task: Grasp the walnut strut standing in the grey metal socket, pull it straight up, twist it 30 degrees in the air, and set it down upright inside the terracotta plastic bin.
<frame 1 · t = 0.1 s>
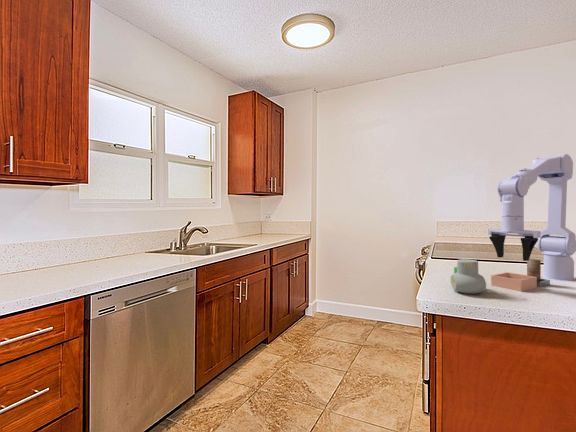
hand: (512, 258, 103), 10 cm above the worktop, tool pointing down, fingers open, 7 cm apart
terracotta bin: (513, 288, 105), on the worktop
metal socket: (533, 285, 108), on the worktop
walnut strut: (533, 283, 108), point 1 cm above the worktop, touching metal socket
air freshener: (467, 292, 102), on the worktop
pipe clamp: (465, 283, 115), on the worktop
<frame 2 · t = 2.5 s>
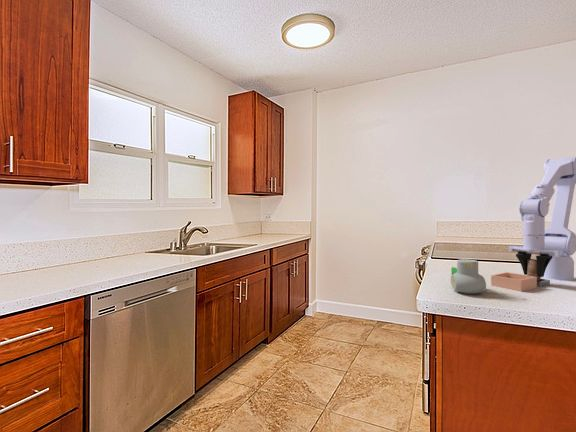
hand: (533, 275, 108), 3 cm above the worktop, tool pointing down, fingers closed on walnut strut, 4 cm apart
walnut strut: (533, 283, 108), point 1 cm above the worktop, touching gripper, metal socket
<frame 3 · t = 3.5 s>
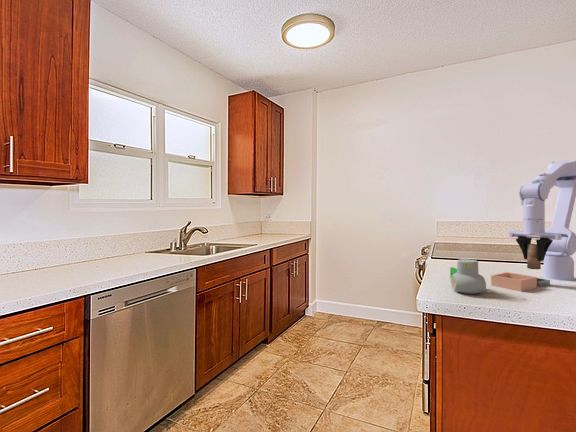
hand: (533, 259, 108), 9 cm above the worktop, tool pointing down, fingers closed on walnut strut, 4 cm apart
walnut strut: (533, 268, 108), point 6 cm above the worktop, touching gripper
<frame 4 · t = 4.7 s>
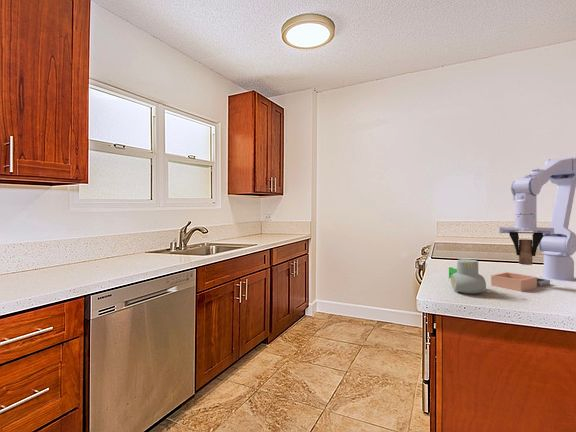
hand: (525, 255, 107), 10 cm above the worktop, tool pointing down, fingers closed on walnut strut, 4 cm apart
walnut strut: (525, 263, 107), point 8 cm above the worktop, touching gripper
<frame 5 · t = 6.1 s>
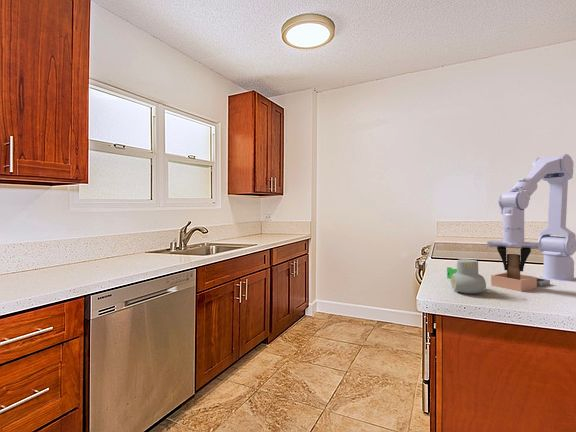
hand: (513, 270, 105), 6 cm above the worktop, tool pointing down, fingers closed on walnut strut, 4 cm apart
walnut strut: (513, 278, 105), point 3 cm above the worktop, touching gripper
when the fingers open (5 cm above the worktop, at t = 7.1 s): walnut strut drops 1 cm, resting on terracotta bin.
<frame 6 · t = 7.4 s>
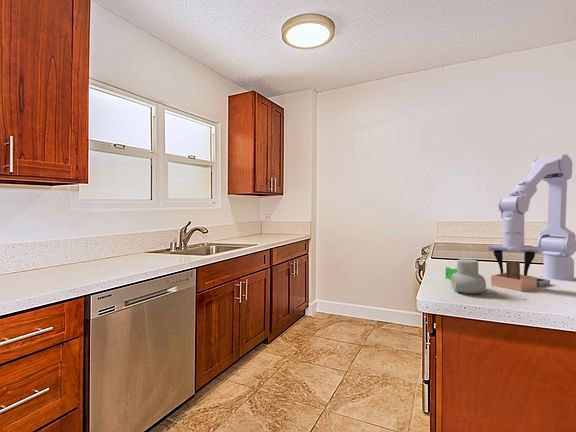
hand: (513, 274, 105), 5 cm above the worktop, tool pointing down, fingers open, 6 cm apart
walnut strut: (513, 286, 105), point 1 cm above the worktop, touching terracotta bin
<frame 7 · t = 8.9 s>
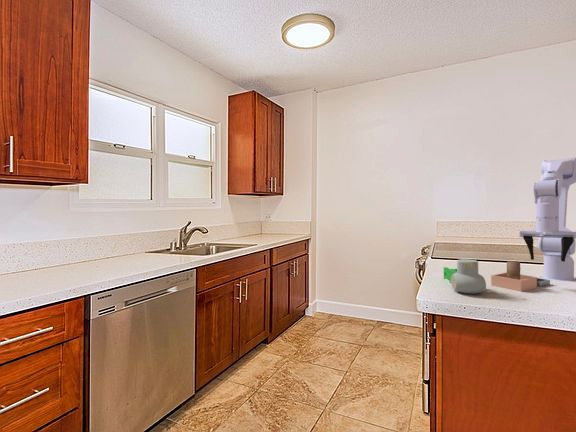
hand: (547, 260, 103), 9 cm above the worktop, tool pointing down, fingers open, 7 cm apart
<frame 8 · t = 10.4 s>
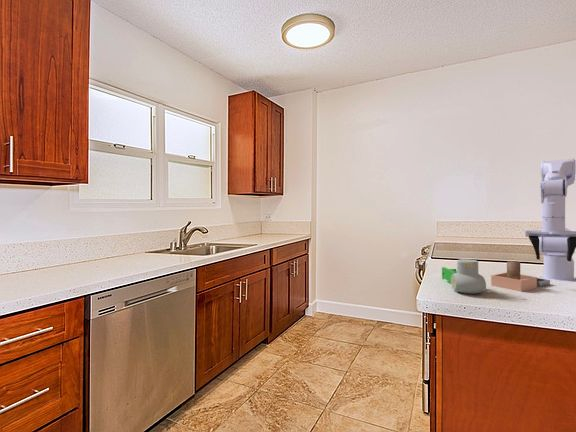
hand: (553, 259, 103), 9 cm above the worktop, tool pointing down, fingers open, 7 cm apart
at the end: walnut strut 0.0 cm off-centre on the terracotta bin, point 0.5 cm above the terracotta bin's base; the gripper is holding nothing; walnut strut tilted 0° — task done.
